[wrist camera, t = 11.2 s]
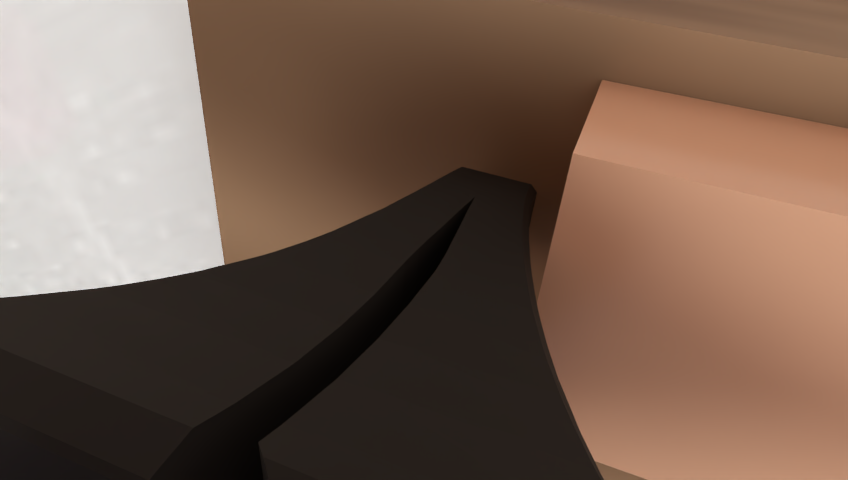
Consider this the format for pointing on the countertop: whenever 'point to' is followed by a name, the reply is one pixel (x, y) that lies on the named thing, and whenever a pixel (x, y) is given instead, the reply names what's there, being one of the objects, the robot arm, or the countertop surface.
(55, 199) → the countertop surface
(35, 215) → the countertop surface
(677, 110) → the tile
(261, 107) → the wooden cutting board
